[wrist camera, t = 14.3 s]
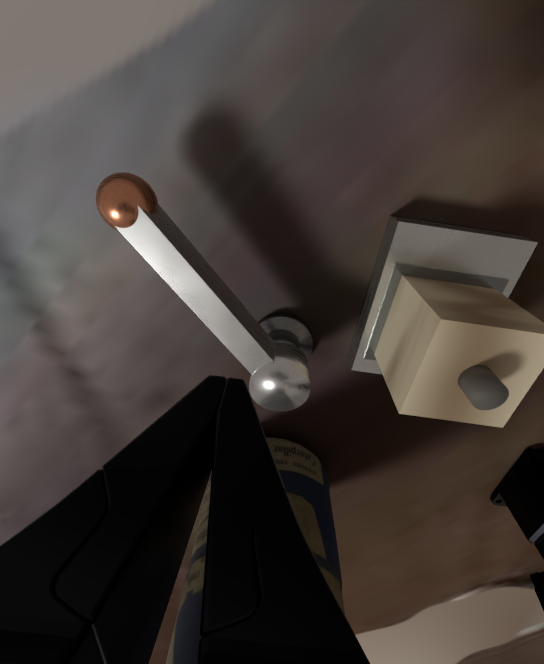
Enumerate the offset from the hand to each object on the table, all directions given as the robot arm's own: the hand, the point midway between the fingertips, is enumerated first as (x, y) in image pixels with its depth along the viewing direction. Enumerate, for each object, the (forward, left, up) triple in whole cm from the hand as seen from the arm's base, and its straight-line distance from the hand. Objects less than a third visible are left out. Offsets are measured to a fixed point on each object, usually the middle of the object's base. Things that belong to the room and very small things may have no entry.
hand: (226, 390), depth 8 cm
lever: (+2, +2, -9) cm, 10 cm away
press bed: (-10, +2, -12) cm, 16 cm away
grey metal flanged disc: (-2, +6, -12) cm, 13 cm away
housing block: (-10, +2, -10) cm, 15 cm away
